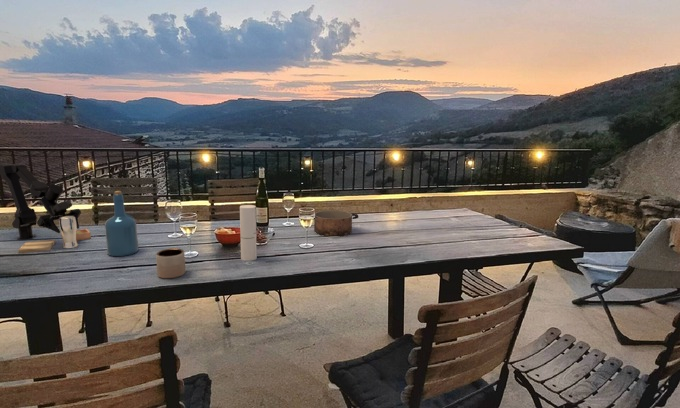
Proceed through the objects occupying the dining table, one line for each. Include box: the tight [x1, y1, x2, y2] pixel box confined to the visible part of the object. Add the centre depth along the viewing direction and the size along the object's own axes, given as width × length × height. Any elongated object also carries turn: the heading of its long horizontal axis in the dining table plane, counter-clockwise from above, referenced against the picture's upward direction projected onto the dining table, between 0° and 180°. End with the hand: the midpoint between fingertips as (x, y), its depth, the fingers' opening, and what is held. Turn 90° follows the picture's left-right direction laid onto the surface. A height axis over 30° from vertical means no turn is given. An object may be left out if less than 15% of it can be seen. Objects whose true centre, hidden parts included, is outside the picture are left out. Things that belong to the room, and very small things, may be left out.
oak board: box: [17, 239, 56, 254], centre depth 193 cm, size 14×12×2 cm
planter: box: [155, 248, 187, 280], centre depth 163 cm, size 11×11×10 cm
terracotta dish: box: [76, 228, 92, 242], centre depth 210 cm, size 9×9×4 cm
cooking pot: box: [313, 209, 359, 237], centre depth 233 cm, size 30×22×11 cm
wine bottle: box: [104, 190, 139, 257], centre depth 186 cm, size 14×13×30 cm
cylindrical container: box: [239, 204, 258, 262], centre depth 183 cm, size 7×7×25 cm
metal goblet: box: [58, 216, 79, 249], centre depth 194 cm, size 7×7×15 cm
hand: (69, 230), depth 194 cm, fingers open, 9 cm apart
